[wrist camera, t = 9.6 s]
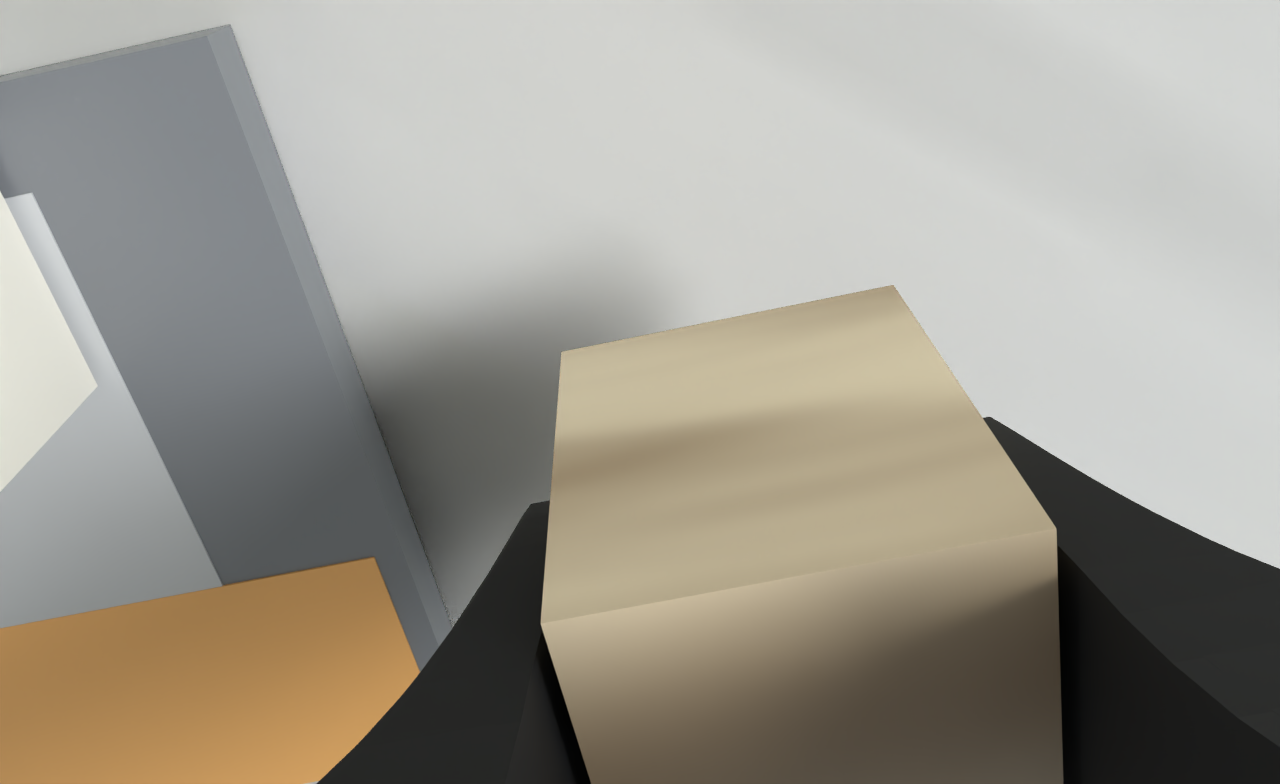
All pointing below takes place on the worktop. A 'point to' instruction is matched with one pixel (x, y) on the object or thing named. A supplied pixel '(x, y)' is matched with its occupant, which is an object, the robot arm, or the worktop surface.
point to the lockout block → (796, 560)
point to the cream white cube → (32, 356)
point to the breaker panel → (192, 451)
